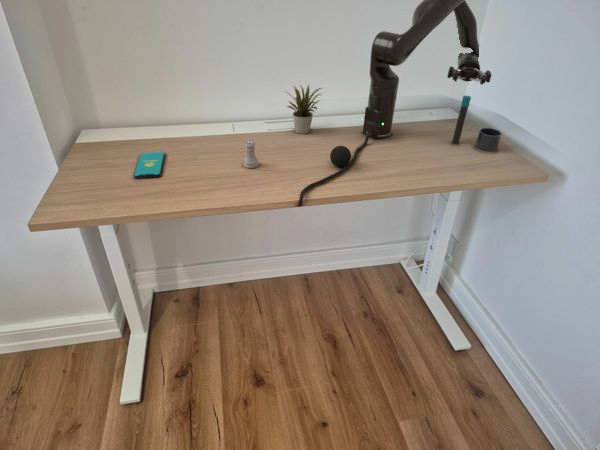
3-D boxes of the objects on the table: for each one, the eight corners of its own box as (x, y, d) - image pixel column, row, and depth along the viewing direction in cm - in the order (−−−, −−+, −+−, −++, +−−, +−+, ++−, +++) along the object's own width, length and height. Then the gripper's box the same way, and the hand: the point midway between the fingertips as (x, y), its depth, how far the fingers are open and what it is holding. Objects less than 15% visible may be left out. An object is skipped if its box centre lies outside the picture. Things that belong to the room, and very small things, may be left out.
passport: (164, 151, 133) (159, 174, 121) (164, 153, 133) (160, 176, 121) (140, 153, 132) (133, 176, 120) (141, 155, 132) (134, 178, 120)
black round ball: (355, 144, 132) (348, 145, 123) (355, 164, 134) (349, 167, 124) (335, 145, 134) (327, 146, 125) (336, 165, 136) (328, 168, 126)
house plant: (332, 129, 152) (336, 84, 143) (313, 142, 143) (315, 94, 133) (299, 120, 158) (300, 76, 149) (278, 132, 149) (278, 86, 139)
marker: (455, 146, 143) (468, 98, 133) (449, 143, 145) (461, 96, 135) (459, 144, 144) (472, 97, 135) (454, 142, 146) (466, 95, 136)
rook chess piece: (257, 169, 127) (256, 144, 122) (242, 168, 127) (241, 144, 122) (259, 162, 130) (258, 138, 126) (244, 161, 130) (243, 137, 126)
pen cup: (488, 155, 138) (494, 138, 135) (470, 147, 142) (475, 130, 139) (500, 149, 142) (506, 133, 138) (482, 142, 146) (487, 126, 142)
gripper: (451, 55, 155) (450, 66, 142) (492, 59, 152) (494, 71, 139) (446, 76, 159) (445, 88, 146) (486, 80, 156) (488, 93, 143)
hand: (469, 80), depth 143 cm, fingers open, 8 cm apart
